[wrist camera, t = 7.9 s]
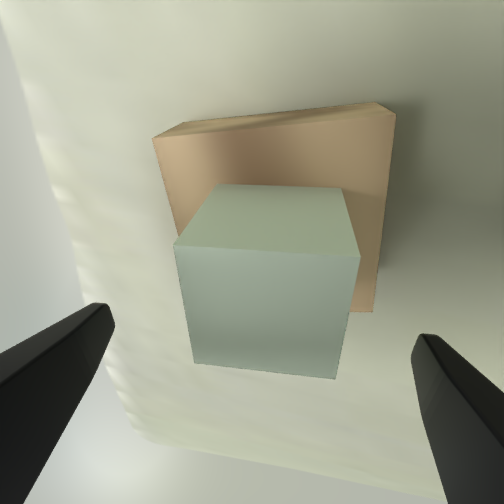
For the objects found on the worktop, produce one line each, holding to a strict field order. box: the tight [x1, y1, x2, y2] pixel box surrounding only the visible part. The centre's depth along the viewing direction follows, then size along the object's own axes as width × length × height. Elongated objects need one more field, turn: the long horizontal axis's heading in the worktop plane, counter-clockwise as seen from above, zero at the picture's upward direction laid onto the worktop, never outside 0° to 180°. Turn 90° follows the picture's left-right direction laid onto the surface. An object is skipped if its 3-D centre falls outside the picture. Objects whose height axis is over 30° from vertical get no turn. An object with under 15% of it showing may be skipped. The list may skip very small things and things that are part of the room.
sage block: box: [173, 184, 361, 379], centre depth 11 cm, size 5×5×5 cm
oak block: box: [152, 102, 396, 312], centre depth 15 cm, size 9×9×4 cm
